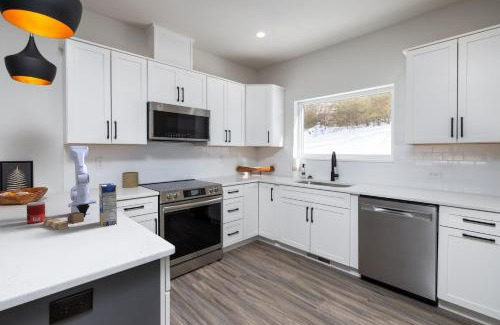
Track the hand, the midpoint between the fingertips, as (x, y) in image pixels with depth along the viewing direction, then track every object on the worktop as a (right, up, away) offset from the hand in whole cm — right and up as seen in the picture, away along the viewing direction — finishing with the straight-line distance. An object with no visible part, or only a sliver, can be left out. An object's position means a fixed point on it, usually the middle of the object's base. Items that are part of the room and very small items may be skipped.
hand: (83, 217), depth 146 cm
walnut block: (-2, -2, -3) cm, 4 cm away
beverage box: (+18, -2, -6) cm, 19 cm away
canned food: (-23, -2, -6) cm, 24 cm away
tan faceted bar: (-6, -2, -13) cm, 14 cm away
